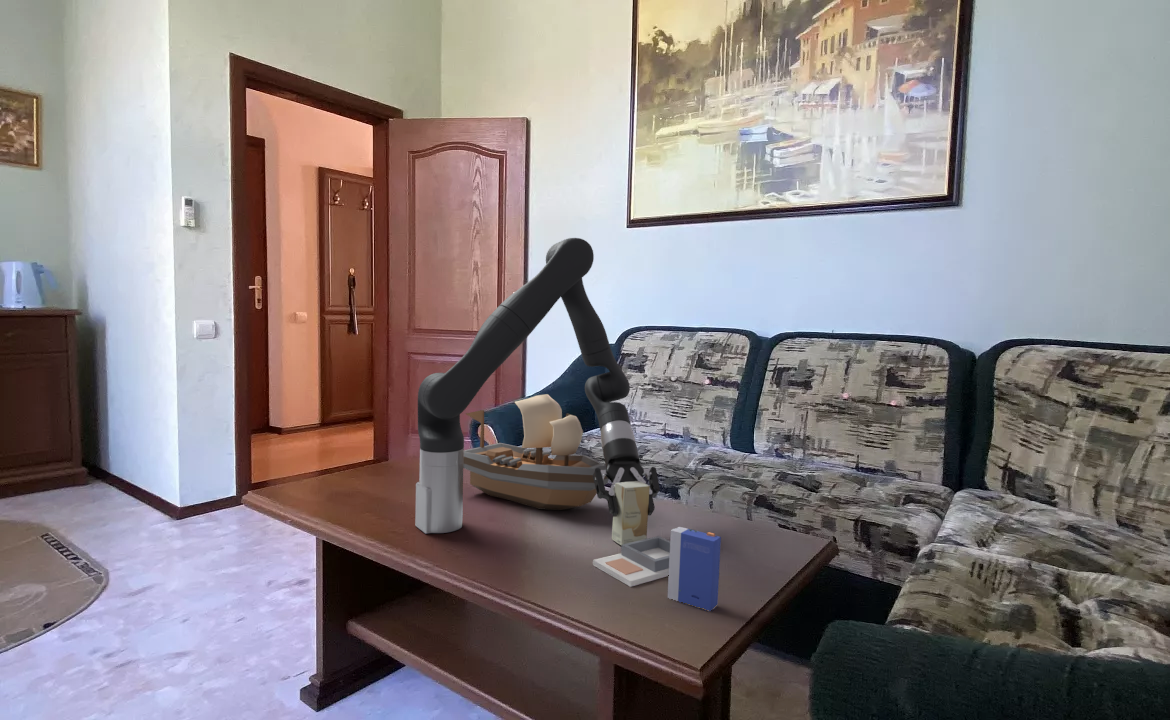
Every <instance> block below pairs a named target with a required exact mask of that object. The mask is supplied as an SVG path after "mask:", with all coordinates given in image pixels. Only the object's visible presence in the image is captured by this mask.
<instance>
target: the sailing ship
mask: <svg viewBox="0 0 1170 720" xmlns="http://www.w3.org/2000/svg"><path fill="white" fill-rule="evenodd" d="M514 404H515V405H516V406H517V408H518V409H519V410H520V413H521V415H522V417H521V418H522V427H523V435H524V437H523V440H522V445H521V446H517V445H512V444H507V443H502V442H498V443H493V444H488V445H485V410H484V409H482V410H477V411H471V412H467V413H465V415H467V416H468V417H470V418H472V419H473V420H475V421H477V422H479V423H480V433H479V434H480V435H479V436H480V440H479V446H478V447H474V448H469V449H464V462H463V470H464V469H465V470H467V471H470V472H469V484H470V485H471V486H473V487H474V488H476V489H478V490H479V491H481V492H483V493H485V494H486V495H488V496H489V495H490V497H494V498H499V499H504V500H506V501H511V502H515V503H517V502H518V504H521V505H525V506H529V507H532V508H536V509H539V510H549V511H550V510H552V511H553V510H554V511H564V510H565V511H566V510H569V509H574V508H578V507H582V506H584V505H587V504H589V503H592V501H593V499H594V498H595V497H596V496H597V492H596V488H595V484H594V479H593V474H594V471H595V469H596V468H599V469H600V470H606V465H605V464H604V463H603V462H600V461H598V460H596V459H594V458H592V457H590V456H587V455H586V454H584V455H583V454H576V453H577V451H578V448H579V447H580V444H581V443H582V439H583V435H584V430H583V429H582V425H581V422H580V420H579V418H578V417H577V416H576V415H573V414H570V413H565V417H563V413H562V412H563V410H562V407H561V405H560V403H558V402H557V401H556V400H555V399H553V398H552V397H551V396H550V395H549V394H548V393H547V394H546V393H545V394H538V395H534V396H531V397H529V398H524V399H520V400H516V401H514ZM545 448H550V449H551V450H549V451H544V449H545ZM550 456H555V457H554V458H552V457H550ZM603 482H604V486H605V485H607V484H609V479H608V478H607V477H606V476H604V479H603Z"/></svg>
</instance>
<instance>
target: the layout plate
mask: <svg viewBox="0 0 1170 720" xmlns="http://www.w3.org/2000/svg"><path fill="white" fill-rule="evenodd" d="M620 547H621V551H620V553H616V554H612V555H608V556H603V557H599V558H595V559H592V565H593V566H594V567H596V568H597V569H599V570H600V571H603V572H604V573H606V574H607V575H609V576H611V577H612V578H614V579H616V580H618V581H619V582H622V583H623V584H625V585H627V586H628V587H630V588H632V587H634V586H638V585H642V584H644V583H645V584H646V583H648V582H651V581H655V580H658V579H662V578H665V577H669V576H668V575H669V554H670V540H669V539H667V538H665V537H662V536H661V535H657V536H653V537H647V538H646V539H643V540H639V541H635V542H631V543H626V544H622V546H621V545H620Z"/></svg>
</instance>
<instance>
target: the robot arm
mask: <svg viewBox="0 0 1170 720" xmlns="http://www.w3.org/2000/svg"><path fill="white" fill-rule="evenodd" d="M594 255H595V254H594V250H593V247H592V246H591V244H590V243H589V242H588V241H587V240H585V239H583V238H579V237H569V238H566V239H563V240H561V241H559V242H556V243H554V244H552V245H551V246H550V247H549V249H548V250H547V252H546V256H545V264H544V266H543V267H542V268H541V270H540V271H539V272H538V273H537V274H536V275H535V276H534V277H533V278H531V279H530V280H528V282H526V283H525V284H523V285H522V286H520V287H519V288H518V289H517V290H515V291H514V292H513V293H511V294H510V295H509V296H507V298H506V299H504V300H503V301H502V302H501V303H500V304H499V305H498V306H497V308H496V309H494V311H493V312H492V313H491V314H490V315H489V316H487V318H486V319H485V320H484V322H483V324H482V325H481V326H480V328H479V330H478V331H477V334H476V335H475V337H474V339H473V341H472V343H471V345H470V347H469V348H468V349H467V351H466V352H465V353H464V354H463V355H462V357H461V358H460V359H459V360H458V361H457V362H456V363H455V364H454V365H453V366H452V367H450V368H449V369H448V370H446V372H434V373H431V374H430V375H427V376H426V377H425V378H424V379H423V380H422V382H421V383H420V385H419V387H418V392H417V432H418V438H419V481H417V482H416V483H415V516H414V518H415V521H414V524H415V527H416V528H418V530H420V531H422V532H423V533H424V534H444V533H451V532H455V531H458V530H460V529H461V528H462V527H463V519H464V517H463V516H464V515H463V512H464V511H463V507H464V506H463V505H464V504H463V501H464V499H463V497H464V468H463V462H464V450H465V448H464V447H465V436H464V434H463V430H462V427H461V426H462V425H461V414H463V412H464V411H466V409H467V408H468V407H469V405H470V403H471V402H472V401H473V400H474V398H475V397H476V396H477V393H478V392H479V391H480V389H482V387H484V385H485V383H486V382H487V381H488V380H489V378H490V377H491V376H492V375H493V373H494V372H496V370H498V368H500V367H501V366H502V365H503V363H504V362H506V360H507V359H508V358H509V357H510V356H511V355H512V354H513V353H514V352H515V350H516V349H518V347H520V346H521V345H522V343H523V342H524V341H526V339H527V338H528V337H529V336H530V334H532V333H533V331H535V329H536V327H537V326H538V325H539V324H540V323H541V322H542V320H544V318H545V317H546V316H547V315H548V313H549V312H551V310H552V309H553V307H554V306H555V304H556V303H557V302H558V301H559V300H560V298H561V301H562V302H563V305H564V307H565V310H566V312H567V314H568V317H569V319H570V323H571V325H572V328H573V331H574V334H575V336H576V341H577V344H578V348H579V351H580V353H581V357H582V360H583V363H584V364H585V366H587V367H592V368H594V367H604V368H606V369H607V370H608V371H607V372H604V373H601V374H597V375H594V376H590V377H589V378H588V379H587V380H586V381H585V384H584V393H585V394H586V397H587V399H588V400H589V402H590V404H591V405H592V408H593V410H594V411H595V413H596V417H597V421H598V425H599V431H600V442H601V449H602V452H603V453H602V454H603V457H604V458H603V459H604V463H605V465H606V470H600V469H599V468H596V469H595V471H594V474H593V479H594V484H595V488H596V492H597V494H596V496H597V498H598V499H601V500H602V499H604V500H606V501H607V507H608V512H609V514H610V515H612V518H613V517H617V515H618V506H617V501H616V496H614V494H615V483H621V482H633V481H639V482H643V483H645V484H647V481H648V483H649V484H648V485H649V486H650V488H649V504H648V516H652V514H653V513H654V511H655V509H656V508H655V507H656V506H655V503H654V498H656V497H657V496H658V493H659V492H660V490H661V488H660V483H659V477H658V472H657V468H656V466H651V467H650V468H643V466H642V465H641V461H640V455H639V451H638V447H637V443H636V438H635V433H634V431H633V428H632V426H631V425H632V424H631V421H630V417H629V411H628V409H627V407H626V405H625V404H623V403H621V402H618V401H619V400H623V399H625V398H627V397H628V396H629V394H630V390H631V385H630V382H629V380H628V378H627V376H626V374H625V373H624V371H623V370H622V368H621V366H620V365H619V364H618V362H617V360H616V358H615V355H614V354H613V351H612V349H611V345H610V342H609V338H608V335H607V331H606V329H605V326H604V324H603V322H602V319H601V318H600V316H599V315H598V313H597V311H596V309H595V308H594V306H593V304H592V303H591V301H590V299H589V297H588V295H587V292H586V289H585V286H584V282H583V278H584V276H586V275H587V274H588V273H589V272H590V270H591V268H592V266H593V264H594V257H595V256H594ZM616 401H617V402H616ZM604 476H606V477H607V478H608V481H610V482H611V483H612V484H611V486H610V488H609V490H606V487H605V485H604V482H603V479H604ZM643 476H645V478H646V480H647V481H646V480H645V478H644V477H643Z"/></svg>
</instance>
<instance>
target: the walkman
mask: <svg viewBox="0 0 1170 720" xmlns="http://www.w3.org/2000/svg"><path fill="white" fill-rule="evenodd" d="M721 539H722V537H721V536H718V535H716V533H713V532H709V531H708V532H702V531H699V530H694V529H690V528H686V527H682V526H678V527H676V528H672V529H671V530H670V540H669V541H670V554H669V576H667V577H668V580H667V599H668V598H669V599H668V600H671V599H673V600H672V601H674V600H676V601H675V602H677V601H679V603H681V602H683V603H682V604H684V603H687V604H690V605H693V606H696V607H700V608H704V609H706V610H709V611H711V610H712V609H713V608H714V607H715V606H716V605H717V604H718V602H719V580H720V565H721V564H720V562H721V542H722V540H721ZM687 604H686V605H687ZM690 605H689V606H690ZM693 606H692V607H693ZM717 606H718V605H717ZM696 607H695V608H696ZM714 609H715V608H714ZM714 609H713V610H714ZM706 610H705V611H706ZM713 610H712V611H713ZM709 611H708V612H709ZM712 611H711V612H712Z"/></svg>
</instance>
